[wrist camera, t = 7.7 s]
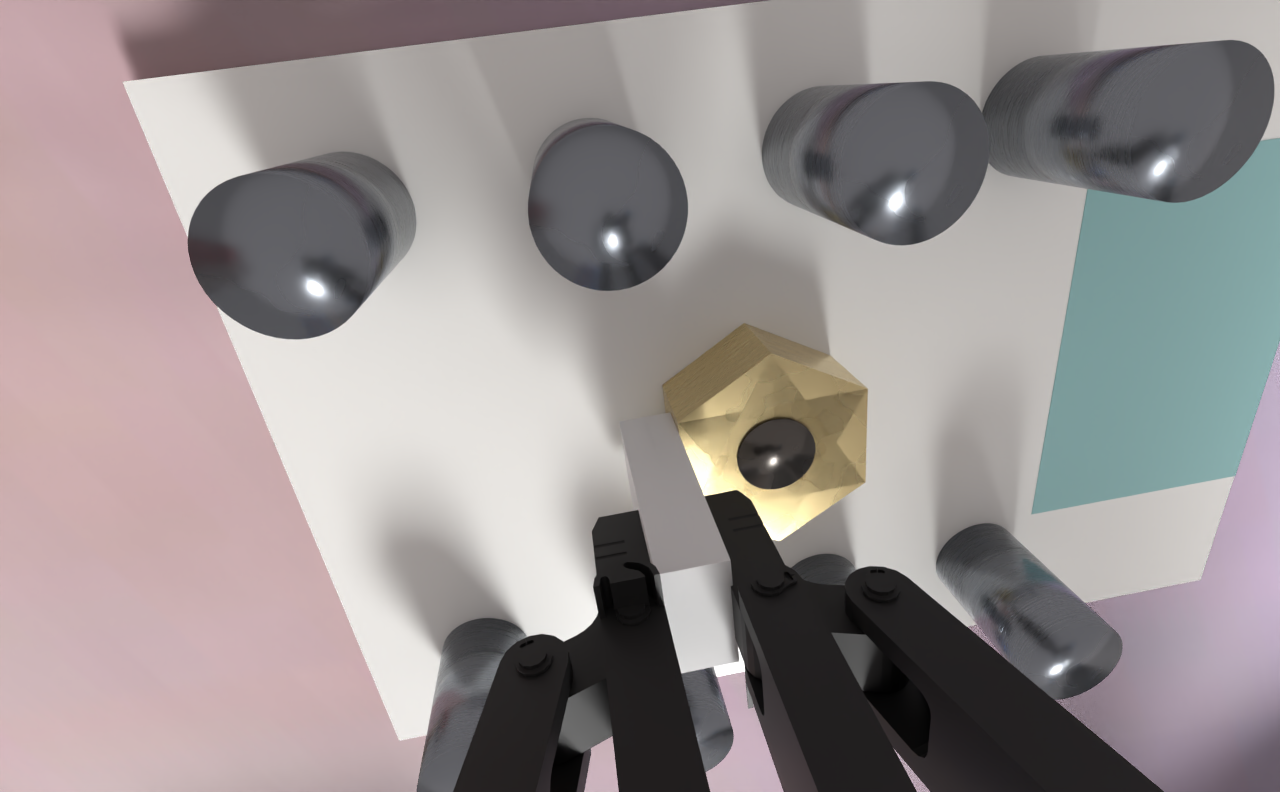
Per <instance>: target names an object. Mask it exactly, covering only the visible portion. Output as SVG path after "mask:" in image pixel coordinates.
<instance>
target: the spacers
mask: <svg viewBox="0 0 1280 792" xmlns="http://www.w3.org/2000/svg"><path fill="white" fill-rule="evenodd" d="M1273 103H1274V78H1273V73H1272V70H1271V67H1270V65H1269V63H1268V61H1267V59H1266V58H1265V56H1264V55H1263V54H1262V52H1260V51H1259V50H1258V49H1257V48H1256V47H1254V46H1252V45H1251V44H1249V43H1246V42H1243V41H1238V40H1220V41H1209V42H1197V43H1185V44H1173V45H1162V46H1150V47H1138V48H1127V49H1115V50H1103V51H1091V52H1080V53H1068V54H1056V55H1044V56H1037V57H1033V58H1030V59H1027V60H1025V61H1023V62H1021V63H1019V64H1018V65H1016V66H1015V67H1013V68H1012V69H1010V70H1009V71H1008V72H1007V73H1006V74H1005V75H1004V76H1003V77H1002V78H1001V79H1000V80H999V81H998V83H997V84H996V85H995V86H994V88H993V90H992V91H991V93H990V94H989V96H988V98H987V100H986V103H985V105H984V108H983V111H982V112H981V110H980V109H979V107H978V106H977V104H976V103H975V102H974V100H973V99H972V98H971V97H970V96H969V95H967V94H966V93H965V92H963V91H962V90H960V89H959V88H957V87H955V86H952V85H950V84H946V83H943V82H935V81H922V82H900V83H877V84H854V85H831V86H816V87H811V88H808V89H805V90H802V91H800V92H799V93H797V94H795V95H793V96H792V97H791V98H789V99H788V100H787V101H786V102H785V103H784V104H782V106H781V107H780V108H779V109H778V110H777V111H776V113H775V114H774V116H773V117H772V119H771V121H770V123H769V125H768V127H767V130H766V132H765V136H764V140H763V146H762V164H763V169H764V173H765V176H766V178H767V180H768V182H769V184H770V186H771V187H772V189H773V190H774V191H775V192H776V194H777V195H778V196H779V197H781V198H782V199H783V200H785V201H787V202H788V203H790V204H792V205H795V206H797V207H799V208H802V209H804V210H806V211H809V212H811V213H813V214H816V215H818V216H820V217H823V218H825V219H827V220H830V221H832V222H834V223H837V224H839V225H841V226H844V227H846V228H848V229H851V230H853V231H855V232H858V233H860V234H862V235H865V236H867V237H869V238H872V239H874V240H877V241H879V242H882V243H885V244H890V245H901V246H902V245H912V244H916V243H921V242H923V241H926V240H929V239H931V238H933V237H935V236H937V235H939V234H941V233H942V232H944V231H945V230H947V229H948V228H949V227H950V226H952V225H953V224H954V223H955V222H956V221H957V220H958V219H959V218H960V217H961V216H962V215H963V214H964V213H965V212H966V210H967V209H968V208H969V207H970V205H971V204H972V202H973V201H974V199H975V198H976V196H977V194H978V192H979V190H980V188H981V185H982V183H983V180H984V178H985V174H986V171H987V167H988V163H989V164H990V165H991V166H992V167H993V168H994V169H995V170H997V171H998V172H1000V173H1002V174H1005V175H1008V176H1013V177H1019V178H1025V179H1031V180H1037V181H1043V182H1049V183H1055V184H1061V185H1067V186H1073V187H1079V188H1085V189H1091V190H1096V191H1102V192H1108V193H1114V194H1120V195H1126V196H1132V197H1138V198H1144V199H1150V200H1156V201H1162V202H1170V203H1180V202H1187V201H1192V200H1195V199H1198V198H1200V197H1203V196H1205V195H1207V194H1209V193H1211V192H1213V191H1214V190H1216V189H1217V188H1219V187H1220V186H1222V185H1223V184H1224V183H1226V182H1227V181H1228V180H1229V179H1231V178H1232V177H1233V176H1234V175H1235V174H1236V173H1237V172H1238V171H1239V170H1240V169H1241V168H1242V167H1243V165H1244V164H1245V163H1246V162H1247V160H1248V159H1249V158H1250V157H1251V155H1252V154H1253V152H1254V151H1255V149H1256V148H1257V146H1258V144H1259V143H1260V141H1261V139H1262V137H1263V135H1264V133H1265V130H1266V128H1267V126H1268V123H1269V120H1270V117H1271V113H1272V108H1273ZM528 218H529V225H530V229H531V233H532V236H533V239H534V241H535V244H536V246H537V248H538V249H539V251H540V253H541V255H542V256H543V257H544V259H545V260H546V261H547V263H548V264H549V265H550V266H551V267H552V268H553V269H554V270H555V271H556V272H558V273H559V274H560V275H561V276H563V277H564V278H566V279H567V280H569V281H571V282H573V283H575V284H577V285H579V286H582V287H585V288H589V289H594V290H599V291H615V290H622V289H627V288H631V287H634V286H636V285H639V284H641V283H643V282H645V281H647V280H649V279H650V278H652V277H653V276H655V275H656V274H657V273H658V272H659V271H661V270H662V269H663V268H664V267H665V266H666V265H667V263H668V262H669V261H670V260H671V259H672V257H673V256H674V254H675V253H676V251H677V249H678V247H679V245H680V243H681V241H682V238H683V236H684V233H685V229H686V225H687V218H688V198H687V192H686V188H685V184H684V180H683V178H682V176H681V173H680V171H679V169H678V167H677V166H676V164H675V162H674V161H673V159H672V158H671V157H670V155H669V154H668V153H667V152H666V151H665V150H664V149H663V148H662V147H661V146H660V145H659V144H658V143H656V142H655V141H654V140H652V139H651V138H650V137H648V136H646V135H644V134H642V133H640V132H638V131H635V130H632V129H630V128H627V127H624V126H621V125H618V124H615V123H613V122H610V121H607V120H603V119H599V118H581V119H576V120H573V121H570V122H567V123H565V124H563V125H562V126H560V127H558V128H557V129H556V130H554V131H553V132H552V133H551V134H550V135H549V136H548V137H547V138H546V140H545V141H544V142H543V144H542V145H541V147H540V149H539V151H538V153H537V155H536V158H535V161H534V165H533V171H532V178H531V184H530V191H529V198H528ZM416 224H417V222H416V212H415V207H414V204H413V201H412V198H411V196H410V194H409V192H408V190H407V188H406V187H405V185H404V184H403V182H402V181H401V180H400V179H399V177H398V176H397V175H396V174H395V173H394V172H393V171H392V170H390V169H389V168H388V167H386V166H385V165H384V164H382V163H380V162H379V161H377V160H375V159H373V158H371V157H369V156H366V155H363V154H359V153H354V152H344V151H342V152H332V153H327V154H323V155H319V156H316V157H312V158H308V159H304V160H300V161H296V162H292V163H288V164H284V165H280V166H276V167H273V168H269V169H265V170H261V171H257V172H253V173H249V174H245V175H241V176H237V177H235V178H232V179H229V180H226V181H225V182H223V183H221V184H219V185H217V186H216V187H215V188H213V189H212V190H211V191H210V192H208V193H207V195H206V196H205V197H204V198H203V199H202V200H201V201H200V203H199V204H198V206H197V208H196V209H195V211H194V214H193V216H192V218H191V222H190V226H189V231H188V252H189V257H190V261H191V265H192V268H193V270H194V273H195V275H196V277H197V279H198V281H199V283H200V285H201V286H202V288H203V290H204V291H205V293H206V294H207V295H208V296H209V298H210V299H211V300H212V301H213V302H214V304H215V305H216V306H218V307H219V308H220V309H221V310H222V311H223V312H224V313H225V314H226V315H228V316H229V317H230V318H232V319H233V320H235V321H236V322H238V323H239V324H241V325H243V326H245V327H247V328H249V329H251V330H253V331H255V332H258V333H261V334H263V335H267V336H271V337H275V338H281V339H296V340H299V339H309V338H314V337H318V336H321V335H324V334H327V333H329V332H331V331H333V330H335V329H337V328H338V327H340V326H341V325H343V324H344V323H345V322H346V321H347V320H348V319H350V318H351V317H352V316H353V314H354V313H355V312H356V311H357V310H358V309H359V308H360V306H361V305H362V304H363V303H364V302H365V301H366V300H367V299H368V297H369V296H370V295H371V294H372V293H373V292H374V291H375V289H376V288H377V287H378V286H379V285H380V284H381V283H382V281H383V280H384V279H385V278H386V277H387V276H388V275H389V274H390V272H391V271H392V270H393V269H394V268H395V267H396V266H397V264H398V263H399V262H400V261H401V260H402V259H403V258H404V256H405V255H406V254H407V252H408V251H409V249H410V247H411V246H412V243H413V240H414V238H415V233H416ZM791 568H792V569H794V570H795V571H796V572H797V573H798V574H799V575H800V577H801V578H802V579H803V580H806V581H809V582H813V583H818V584H829V585H845V581H846V580H847V578H848V576H849V574H851V573H852V572H854V571H855V570H856V569H855V567H854V566H853V564H852V563H851V562H850V561H849V560H847V559H846V558H844V557H842V556H839V555H835V554H818V555H814V556H810V557H808V558H805V559H803V560H801V561H800V562H798V563H796V564H795V565H794V566H793V567H791ZM936 573H937V575H938V577H939V579H940V580H941V582H942V583H943V584H944V585H945V586H946V588H947V589H948V590H949V591H950V592H951V594H952V595H953V596H954V597H955V599H956V600H957V601H958V602H959V603H960V605H961V606H962V607H963V608H964V610H965V611H966V612H967V613H968V614H969V616H970V617H971V618H972V619H973V620H974V622H975V623H976V624H977V625H978V627H979V628H980V629H981V630H982V631H983V633H984V634H985V635H986V636H987V637H988V639H989V640H990V641H991V642H992V644H993V645H994V646H995V647H996V648H997V650H998V651H999V652H1000V653H1001V654H1002V656H1003V657H1004V658H1005V659H1006V660H1007V661H1008V662H1010V663H1011V664H1012V665H1013V666H1014V667H1016V668H1017V669H1018V670H1019V671H1020V672H1022V673H1023V674H1024V675H1025V676H1026V677H1027V678H1029V679H1030V680H1031V681H1032V682H1033V683H1035V684H1036V685H1037V686H1038V687H1039V688H1041V689H1042V690H1043V691H1044V692H1045V693H1047V694H1048V695H1049V696H1050V697H1051V698H1053V699H1054V700H1057V699H1065V698H1069V697H1073V696H1076V695H1079V694H1081V693H1083V692H1085V691H1087V690H1089V689H1091V688H1093V687H1094V686H1096V685H1097V684H1098V683H1100V682H1101V681H1102V680H1103V679H1105V678H1106V677H1107V676H1108V675H1109V674H1110V673H1111V671H1112V670H1113V669H1114V668H1115V666H1116V665H1117V663H1118V661H1119V659H1120V656H1121V653H1122V640H1121V638H1120V636H1119V635H1118V633H1117V632H1116V631H1115V630H1113V629H1112V628H1111V627H1110V626H1109V625H1108V624H1107V623H1106V622H1105V621H1104V620H1103V619H1102V618H1101V617H1100V616H1098V615H1097V614H1096V613H1095V612H1094V611H1093V610H1092V609H1091V608H1090V607H1089V606H1088V605H1087V604H1086V603H1085V602H1083V601H1082V600H1081V599H1080V598H1079V597H1078V596H1077V595H1076V594H1075V593H1074V592H1073V591H1072V590H1071V589H1070V588H1068V587H1067V586H1066V585H1065V584H1064V583H1063V582H1062V581H1061V580H1060V579H1059V578H1058V577H1057V576H1056V575H1055V574H1053V573H1052V572H1051V571H1050V570H1049V569H1048V568H1047V567H1046V566H1045V565H1044V564H1043V563H1042V562H1041V561H1040V560H1038V559H1037V558H1036V557H1035V556H1034V555H1033V554H1032V553H1031V552H1030V551H1029V550H1028V549H1027V548H1026V547H1025V546H1023V545H1022V544H1021V543H1020V542H1019V541H1018V540H1017V539H1016V538H1015V537H1014V536H1013V535H1012V534H1011V533H1009V532H1008V531H1007V530H1006V529H1005V528H1004V527H1002V526H1000V525H997V524H991V523H983V524H977V525H973V526H970V527H968V528H966V529H963V530H962V531H960V532H958V533H957V534H955V535H954V536H953V537H952V538H951V539H949V540H948V542H947V543H946V544H945V545H944V546H943V548H942V549H941V551H940V553H939V555H938V558H937V561H936ZM526 637H527V636H526V634H525V633H524V632H523V631H522V630H521V629H520V628H519V627H518V626H516V625H514V624H513V623H511V622H508V621H505V620H502V619H496V618H480V619H475V620H471V621H468V622H465V623H463V624H461V625H460V626H458V627H456V628H455V629H454V630H453V631H452V632H451V633H450V634H449V635H448V636H447V638H446V640H445V642H444V645H443V649H442V654H441V660H440V665H439V671H438V676H437V681H436V687H435V692H434V698H433V703H432V709H431V714H430V719H429V725H428V730H427V736H426V741H425V747H424V752H423V758H422V763H421V768H420V774H419V779H418V785H417V792H453V790H454V788H455V785H456V782H457V779H458V776H459V774H460V771H461V768H462V765H463V763H464V760H465V757H466V754H467V752H468V749H469V746H470V743H471V741H472V738H473V735H474V732H475V730H476V727H477V724H478V721H479V718H480V716H481V713H482V710H483V707H484V705H485V702H486V699H487V696H488V694H489V691H490V688H491V685H492V683H493V680H494V677H495V674H496V671H497V669H498V666H499V663H500V661H501V659H502V657H503V656H504V654H505V652H506V651H507V650H508V649H509V648H510V647H511V646H512V645H514V644H515V643H516V642H517V641H520V640H522V639H524V638H526ZM681 675H682V679H683V683H684V687H685V691H686V695H687V699H688V703H689V707H690V712H691V716H692V720H693V724H694V728H695V732H696V736H697V740H698V744H699V748H700V753H701V757H702V761H703V765H704V769H705V772H706V771H708V770H710V769H712V768H713V767H715V766H716V765H717V764H719V763H720V762H721V761H722V760H723V759H724V758H725V757H726V755H727V754H728V752H729V751H730V749H731V746H732V744H733V729H732V726H731V723H730V719H729V716H728V713H727V709H726V706H725V703H724V699H723V696H722V693H721V689H720V686H719V682H718V679H717V676H716V672H715V669H714V667H710V668H705V669H700V670H696V671H691V672H686V673H681Z"/></svg>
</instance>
